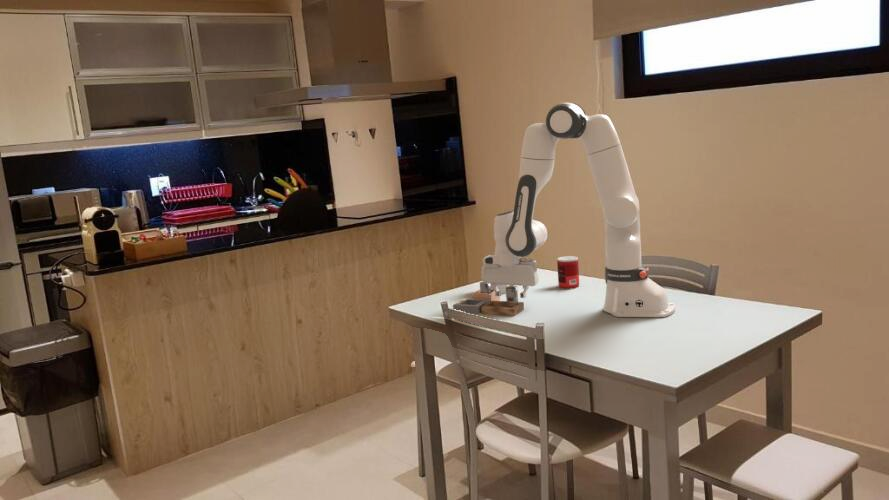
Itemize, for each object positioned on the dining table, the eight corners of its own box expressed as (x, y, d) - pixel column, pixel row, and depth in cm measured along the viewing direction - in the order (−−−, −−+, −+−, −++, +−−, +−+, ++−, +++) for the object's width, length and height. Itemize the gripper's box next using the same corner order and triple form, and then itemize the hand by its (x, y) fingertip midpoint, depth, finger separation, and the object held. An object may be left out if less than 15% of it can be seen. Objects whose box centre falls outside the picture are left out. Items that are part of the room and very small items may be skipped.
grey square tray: (490, 307, 239) (490, 298, 239) (479, 315, 232) (478, 306, 231) (465, 306, 244) (464, 297, 244) (453, 313, 237) (452, 304, 236)
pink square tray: (500, 301, 247) (499, 289, 246) (491, 306, 241) (490, 294, 240) (482, 300, 250) (481, 288, 249) (473, 305, 244) (472, 293, 243)
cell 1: (494, 300, 246) (492, 280, 244) (489, 303, 243) (487, 282, 241) (484, 299, 248) (482, 279, 247) (479, 302, 245) (477, 282, 243)
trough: (524, 310, 232) (523, 302, 231) (514, 317, 225) (514, 308, 225) (492, 308, 238) (491, 300, 237) (482, 315, 231) (481, 306, 231)
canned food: (582, 284, 260) (581, 256, 258) (574, 289, 253) (573, 260, 251) (563, 283, 264) (562, 255, 262) (555, 288, 258) (553, 260, 255)
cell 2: (520, 305, 239) (518, 284, 238) (515, 308, 236) (514, 287, 234) (509, 304, 241) (508, 283, 240) (505, 307, 238) (503, 286, 236)
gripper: (540, 257, 233) (542, 296, 235) (486, 255, 243) (488, 292, 245) (533, 261, 227) (535, 301, 230) (478, 258, 237) (480, 297, 240)
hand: (510, 296), depth 238 cm, fingers open, 8 cm apart
